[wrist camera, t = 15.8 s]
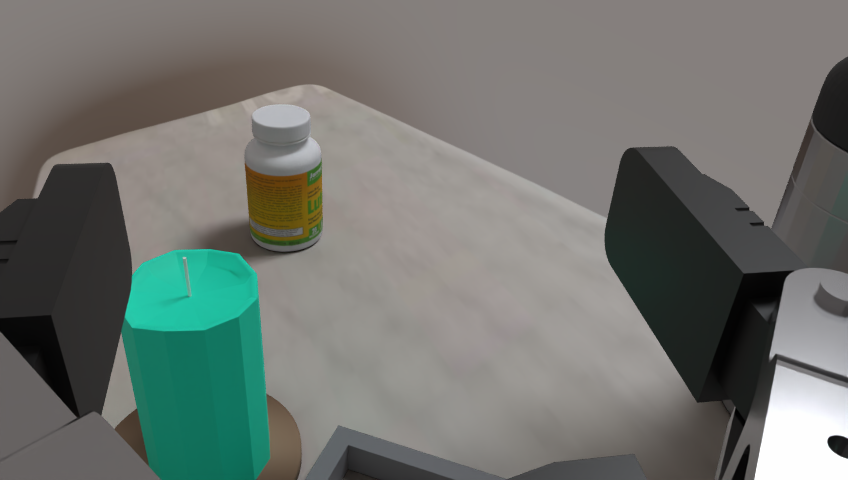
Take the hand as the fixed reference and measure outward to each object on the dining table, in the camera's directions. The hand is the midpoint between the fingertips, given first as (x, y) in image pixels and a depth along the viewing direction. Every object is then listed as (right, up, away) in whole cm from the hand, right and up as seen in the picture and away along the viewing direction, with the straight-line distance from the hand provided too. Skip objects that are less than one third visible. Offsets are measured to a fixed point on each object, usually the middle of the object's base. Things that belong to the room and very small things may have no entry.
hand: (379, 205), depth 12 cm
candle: (-10, -12, +26) cm, 31 cm away
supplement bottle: (-10, 0, +45) cm, 46 cm away
